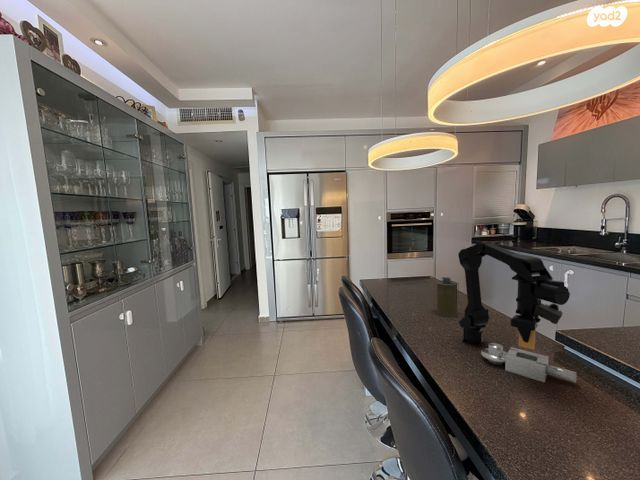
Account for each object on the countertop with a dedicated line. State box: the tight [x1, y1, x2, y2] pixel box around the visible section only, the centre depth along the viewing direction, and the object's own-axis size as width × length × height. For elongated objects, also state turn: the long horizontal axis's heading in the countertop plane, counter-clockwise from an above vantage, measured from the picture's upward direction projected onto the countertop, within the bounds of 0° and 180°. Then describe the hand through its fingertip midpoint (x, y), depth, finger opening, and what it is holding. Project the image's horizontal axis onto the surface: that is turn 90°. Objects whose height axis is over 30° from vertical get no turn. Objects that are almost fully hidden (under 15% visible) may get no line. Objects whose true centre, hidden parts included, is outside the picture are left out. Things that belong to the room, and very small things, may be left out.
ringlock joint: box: [480, 342, 577, 384], centre depth 91 cm, size 26×9×6 cm, turn 45°
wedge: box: [518, 330, 536, 351], centre depth 90 cm, size 4×2×8 cm, turn 44°
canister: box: [436, 276, 460, 318], centre depth 146 cm, size 11×10×20 cm
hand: (526, 340), depth 90 cm, fingers closed on wedge, 2 cm apart
